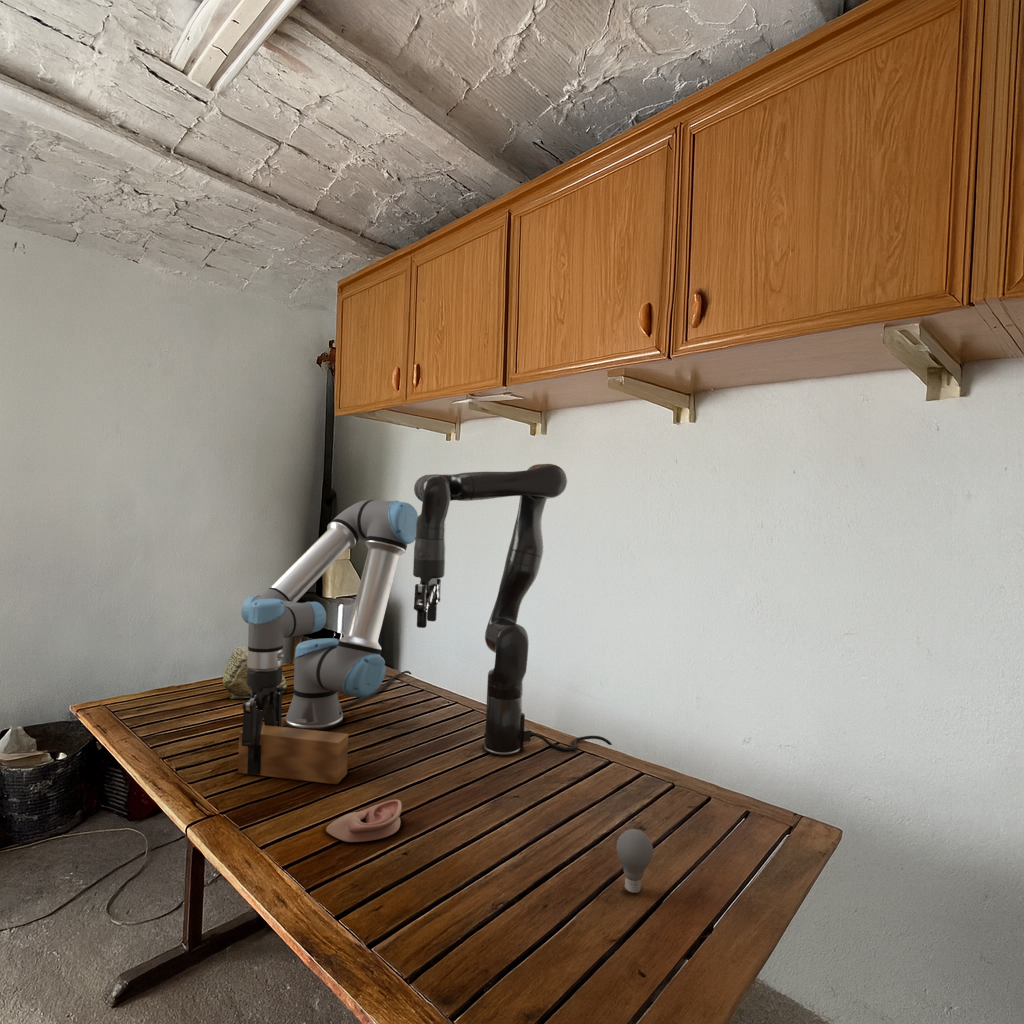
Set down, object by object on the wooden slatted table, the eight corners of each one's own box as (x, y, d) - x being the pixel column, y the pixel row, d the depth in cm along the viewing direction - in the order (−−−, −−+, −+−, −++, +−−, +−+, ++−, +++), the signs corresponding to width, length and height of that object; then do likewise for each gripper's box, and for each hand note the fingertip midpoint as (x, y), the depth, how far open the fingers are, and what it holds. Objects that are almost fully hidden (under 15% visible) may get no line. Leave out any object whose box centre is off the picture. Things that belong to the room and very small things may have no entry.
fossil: (218, 695, 195) (220, 647, 195) (278, 685, 208) (279, 640, 207) (228, 703, 189) (230, 653, 188) (289, 692, 201) (290, 645, 201)
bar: (237, 772, 143) (239, 732, 143) (251, 763, 149) (252, 723, 149) (336, 784, 140) (338, 742, 140) (347, 774, 145) (348, 733, 145)
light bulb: (610, 879, 108) (613, 822, 108) (644, 879, 109) (647, 822, 109) (619, 902, 102) (622, 840, 102) (655, 901, 103) (658, 840, 103)
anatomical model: (318, 816, 117) (346, 789, 129) (317, 837, 118) (346, 808, 129) (385, 827, 115) (408, 798, 126) (384, 848, 115) (407, 818, 126)
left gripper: (257, 679, 135) (254, 787, 136) (299, 659, 154) (296, 753, 154) (225, 676, 136) (221, 783, 137) (271, 656, 155) (267, 750, 155)
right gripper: (436, 560, 145) (433, 631, 145) (451, 555, 159) (449, 620, 159) (405, 558, 146) (402, 628, 146) (423, 554, 160) (420, 617, 160)
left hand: (261, 767), depth 145 cm, fingers closed on bar, 5 cm apart
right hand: (426, 624), depth 153 cm, fingers open, 8 cm apart
